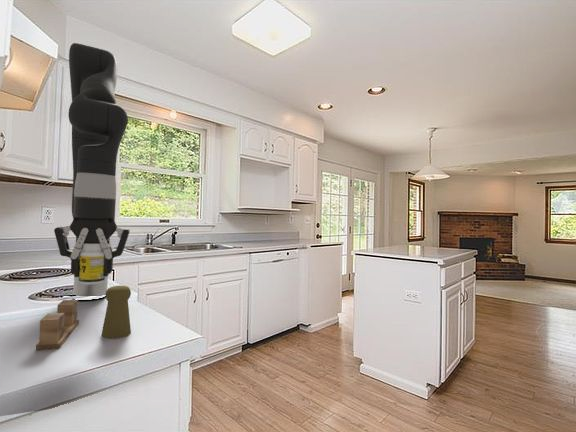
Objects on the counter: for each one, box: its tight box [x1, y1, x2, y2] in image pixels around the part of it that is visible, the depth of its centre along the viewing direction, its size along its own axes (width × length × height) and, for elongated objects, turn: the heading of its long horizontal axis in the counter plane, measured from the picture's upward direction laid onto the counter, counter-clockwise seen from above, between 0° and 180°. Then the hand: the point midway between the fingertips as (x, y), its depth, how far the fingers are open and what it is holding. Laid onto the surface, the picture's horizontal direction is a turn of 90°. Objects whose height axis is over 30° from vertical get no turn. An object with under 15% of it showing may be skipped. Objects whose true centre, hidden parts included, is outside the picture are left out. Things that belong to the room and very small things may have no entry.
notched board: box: [35, 299, 80, 351], centre depth 71 cm, size 15×4×6 cm, turn 21°
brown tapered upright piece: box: [101, 285, 132, 340], centre depth 73 cm, size 6×6×11 cm
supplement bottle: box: [79, 243, 106, 285], centre depth 67 cm, size 5×5×8 cm
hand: (91, 275), depth 67 cm, fingers closed on supplement bottle, 4 cm apart
